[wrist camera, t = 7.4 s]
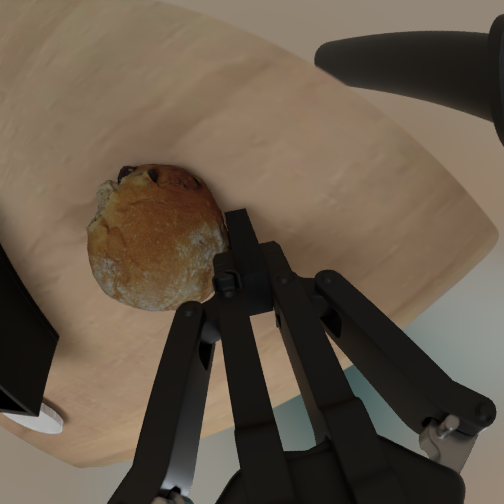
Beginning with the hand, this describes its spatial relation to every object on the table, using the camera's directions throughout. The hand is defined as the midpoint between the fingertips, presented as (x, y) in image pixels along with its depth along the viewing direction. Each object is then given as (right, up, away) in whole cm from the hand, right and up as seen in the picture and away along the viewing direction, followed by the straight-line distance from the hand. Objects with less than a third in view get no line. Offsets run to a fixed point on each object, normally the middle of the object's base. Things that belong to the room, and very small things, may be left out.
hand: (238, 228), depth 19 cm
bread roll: (-6, 0, +1) cm, 6 cm away
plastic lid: (-36, -27, +12) cm, 47 cm away
